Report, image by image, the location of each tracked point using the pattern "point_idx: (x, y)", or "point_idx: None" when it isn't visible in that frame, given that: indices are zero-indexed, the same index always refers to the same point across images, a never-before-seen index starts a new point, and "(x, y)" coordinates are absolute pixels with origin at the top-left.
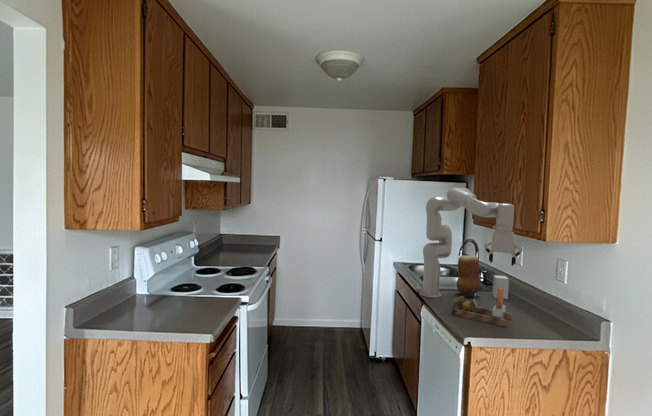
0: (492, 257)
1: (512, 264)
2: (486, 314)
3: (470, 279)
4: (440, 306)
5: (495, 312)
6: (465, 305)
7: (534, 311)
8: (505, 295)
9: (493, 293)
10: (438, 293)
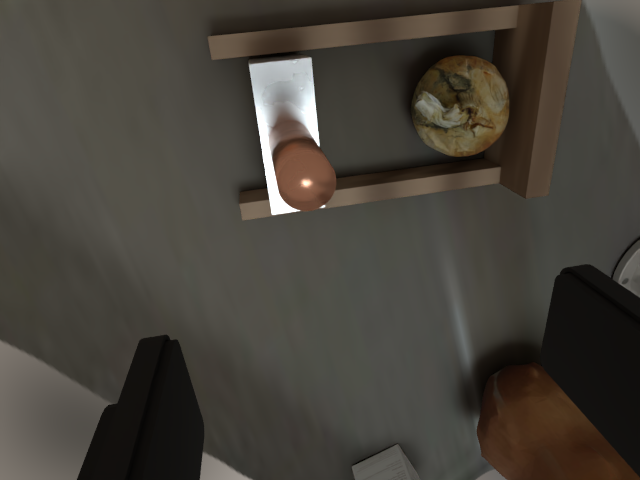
0: (617, 394)
1: (145, 346)
2: (362, 176)
3: (550, 435)
4: (597, 121)
5: (287, 58)
6: (486, 68)
7: (209, 406)
8: (364, 476)
9: (414, 472)
10: (636, 283)
